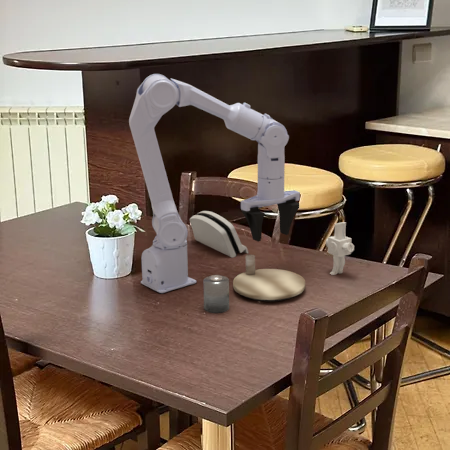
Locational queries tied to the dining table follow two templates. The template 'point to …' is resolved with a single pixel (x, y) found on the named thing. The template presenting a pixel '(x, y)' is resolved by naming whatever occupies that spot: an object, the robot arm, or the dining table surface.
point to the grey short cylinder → (216, 294)
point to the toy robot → (339, 247)
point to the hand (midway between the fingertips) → (270, 236)
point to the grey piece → (216, 233)
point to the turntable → (267, 282)
